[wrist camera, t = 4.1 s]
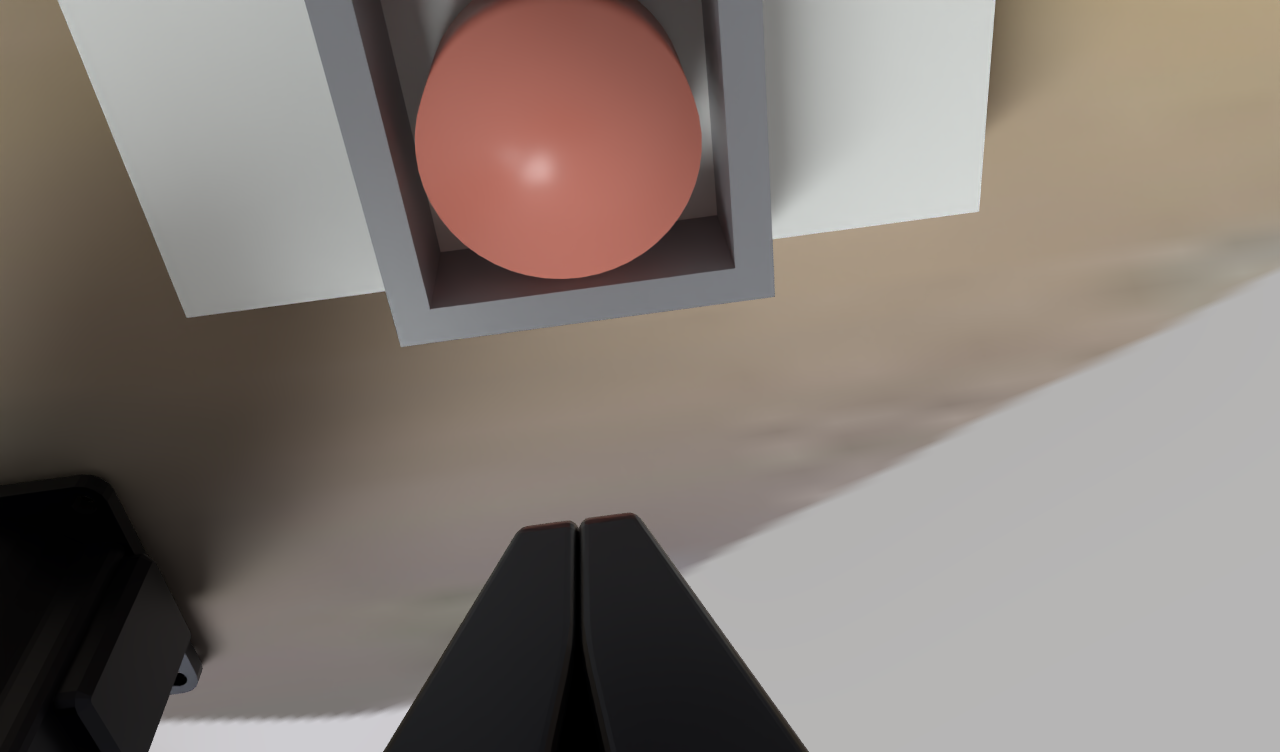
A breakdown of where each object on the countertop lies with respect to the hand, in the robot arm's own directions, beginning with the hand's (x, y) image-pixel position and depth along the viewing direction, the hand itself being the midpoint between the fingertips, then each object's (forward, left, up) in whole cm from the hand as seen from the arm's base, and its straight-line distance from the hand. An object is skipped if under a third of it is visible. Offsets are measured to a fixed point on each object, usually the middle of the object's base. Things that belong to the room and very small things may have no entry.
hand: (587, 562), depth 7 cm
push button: (0, 0, -10) cm, 10 cm away
